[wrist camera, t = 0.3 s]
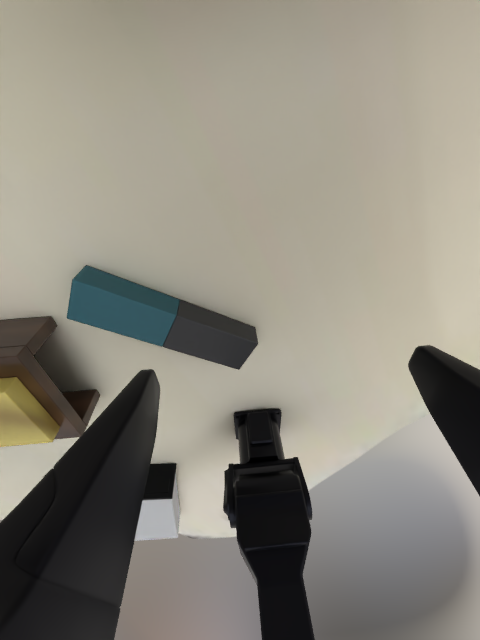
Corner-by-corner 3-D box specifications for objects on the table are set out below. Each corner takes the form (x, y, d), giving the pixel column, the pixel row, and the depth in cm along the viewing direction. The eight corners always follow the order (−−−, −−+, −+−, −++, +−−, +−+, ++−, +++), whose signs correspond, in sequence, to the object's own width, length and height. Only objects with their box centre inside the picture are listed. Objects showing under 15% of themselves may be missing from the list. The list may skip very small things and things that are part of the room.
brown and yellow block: (100, 395, 31) (75, 452, 26) (16, 402, 31) (-27, 461, 25) (51, 315, 24) (2, 372, 18) (-60, 324, 23) (-143, 384, 18)
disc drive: (176, 463, 43) (171, 497, 39) (181, 510, 56) (178, 539, 52) (63, 465, 41) (46, 502, 37) (96, 514, 54) (87, 545, 50)
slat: (255, 327, 26) (258, 343, 24) (237, 352, 28) (239, 370, 26) (85, 264, 21) (72, 279, 19) (79, 301, 23) (66, 318, 21)
